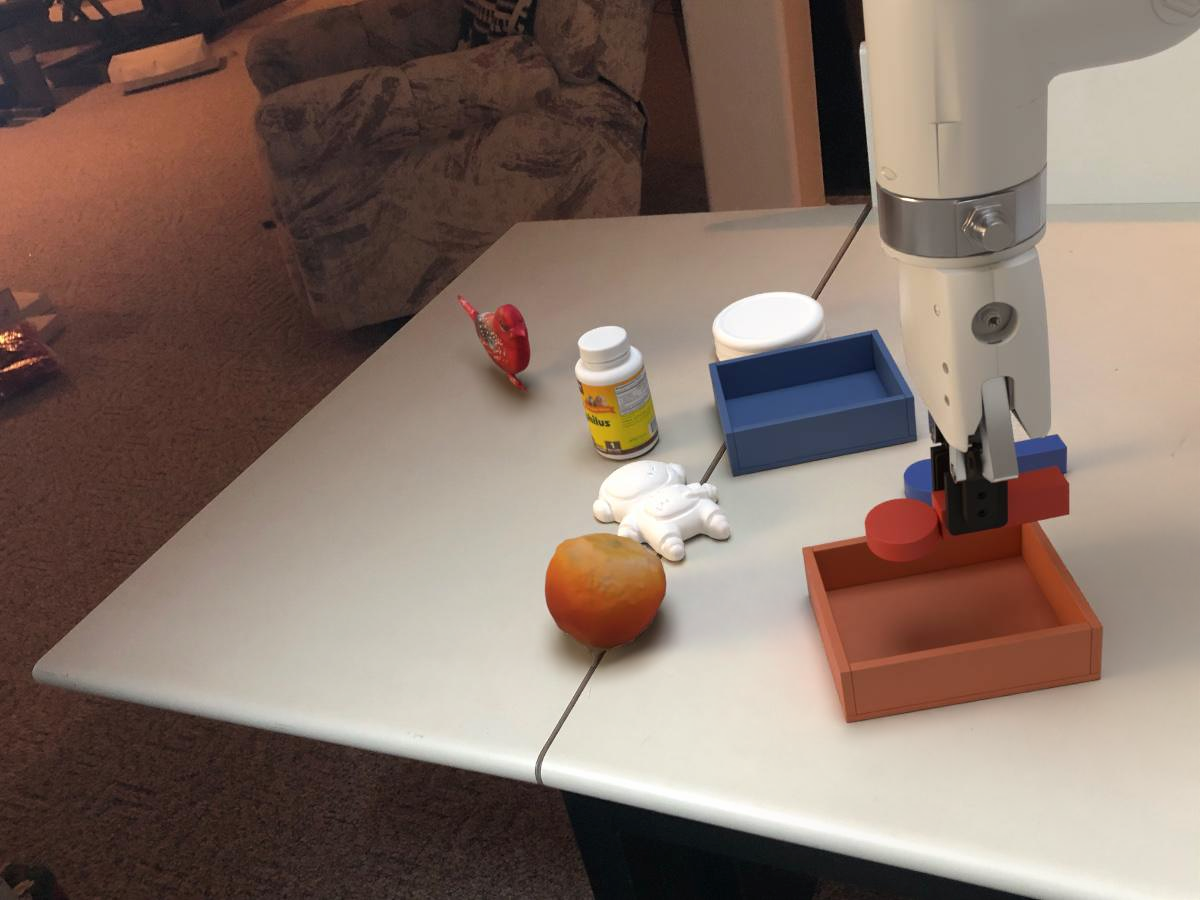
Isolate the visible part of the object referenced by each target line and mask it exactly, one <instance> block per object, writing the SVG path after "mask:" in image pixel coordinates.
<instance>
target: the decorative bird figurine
mask: <svg viewBox="0 0 1200 900" xmlns="http://www.w3.org/2000/svg"><path fill="white" fill-rule="evenodd" d="M456 297H457V299H458V301H459V302H460V304H461V306H462V307H463V308H464V310H465V312H466V313H467V314H468V316H469V317H470V319H471V321H472V322H473V324H474V328H475V331H476V334H477V337H478V339H479V341H480V342H481V344H482V346H483V348H484V350H485V351H486V353H487V355H488V356H489V358H490V359H491V361H492V362H493V363H494V364H495V365H496V366H497V367H498V368H499V369H500V370H501V371H503V372H505V375H507V376H508V379H509V381H510V382H511V383H512V384H513V385H514V386H515V387H516V388H517V389H521V390H524V391H525V392H527V393H528V392H529V391H528V390H527V388H526V387H525V386H524V385H523V382H522V381H521V380H520V379H518V377H517V374H520V373H521V372H524V371H525V370H526V369H527V368H528V367H529V364H530V361H531V345H530V340H529V331H528V327H527V324H526V321H525V318H524V316H523V315H522V313H521V311H520V310H519V308H518V307H517V306H515V305H514V304H512V303H507V304H506V303H505V304H503V305H501V306H499V307H498V308H497V309H496V311H483V312H479V311H478V310H476V308H475V307H473V306H472V305H471V304H470V303H469V302H468V301H467V300H466V299H465V298H464V297H463V296H461V295H459V294H458V295H457V296H456Z"/></svg>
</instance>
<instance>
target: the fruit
mask: <svg viewBox="0 0 1200 900" xmlns="http://www.w3.org/2000/svg"><path fill="white" fill-rule="evenodd" d="M666 593H667V577H666V571H665V569H664V565H663V561H662V560H661V558H660V557H659V556H658V555H656V554H654V553H651V552H650V551H649V550H648V548H647V547H646V546H645V545H643V544H642V543H638V542H636V541H634V540H632V539H630V538H628V537H622V536H618V534H614V533H609V532H594V533H589V534H583V535H580V536H577V537H573V538H568V539H567V538H566V539H564V540H563V541H562V542H561V543H559V544H557V546H556V548H555V552H554V554H553V555H552V557H551V558H550V561H549V563H548V565H547V568H546V571H545V579H544V597H545V603H546V607H547V609H548V612H549V614H550V616H551V618H552V619H553V621H554V622H555V624H556V626H557V628H558V629H559V630H561V631H562V632H563V633H564V636H565V635H566V634H567V635H568V636H570V637H571V638H573V639H574V640H575V641H576V642H578V643H579V644H580V645H581V646H582V647H583V648H584V649H585V650H586V651H587V652H588V653H589V654H590V655H591V657H592V661H591V667H593V668H594V669H595V668H596V667H597V663H598V659H599V655H601V653H602V652H605V651H608V650H609V651H610V650H613V649H616V648H619V647H622V646H624V645H627V644H629V643H631V642H633V641H634V640H635V639H637V638H638V637H639V636H640V635H641V634H642V633H643V632H644V631H645V630H647V629H648V628H650V626H651V625H652V623H653V622H654V620H655V617H656V615H657V613H658V611H659V610H660V608H661V606H662V603H663V601H664V599H665V596H666Z"/></svg>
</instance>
